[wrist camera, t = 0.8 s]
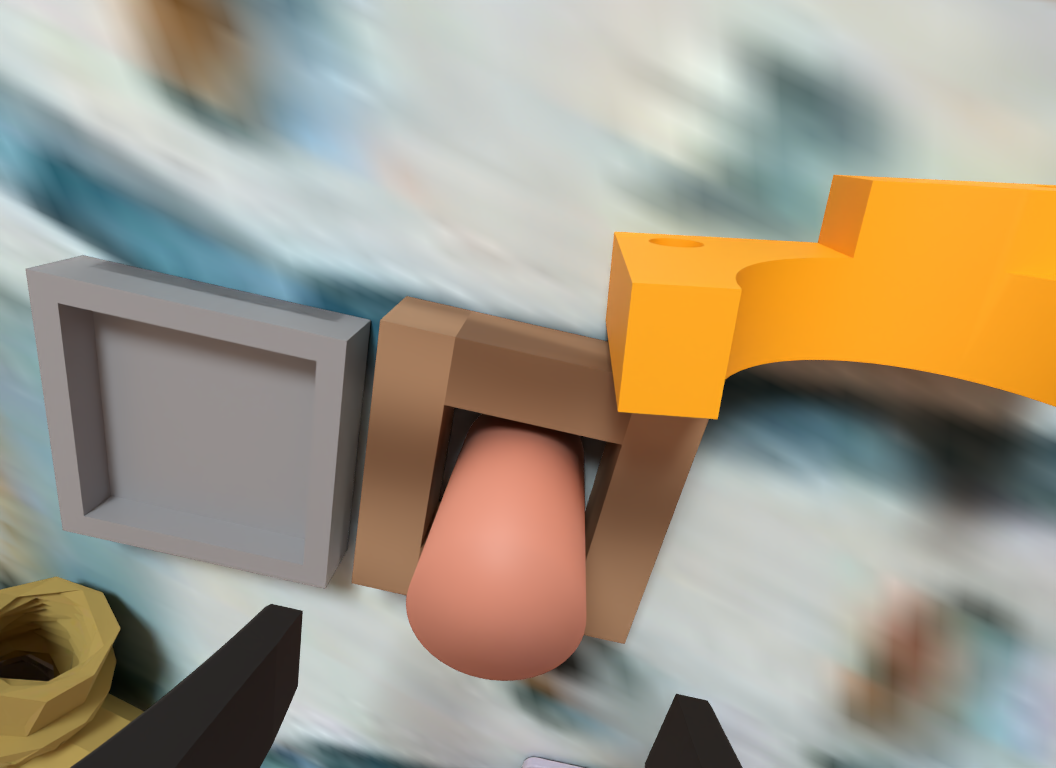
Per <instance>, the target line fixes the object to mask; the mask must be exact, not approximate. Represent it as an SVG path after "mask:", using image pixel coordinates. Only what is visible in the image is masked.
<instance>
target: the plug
mask: <svg viewBox="0 0 1056 768" xmlns="http://www.w3.org/2000/svg"><path fill="white" fill-rule="evenodd" d="M406 609H407V615H408V619H409V623H410V625H411V627H412V630H413V632H414V633H415V635H416V637H417V638H418V640H419V641H420V642H421V644H422V645H423V646H424V647H425V648H426V649H427V650H428V651H429V652H430V653H431V654H432V655H433V656H435V657H436V658H437V659H438V660H440V661H441V662H443V663H444V664H446V665H448V666H449V667H451V668H453V669H455V670H458V671H460V672H463V673H465V674H468V675H471V676H475V677H478V678H483V679H489V680H500V681H508V680H521V679H527V678H531V677H535V676H538V675H541V674H544V673H546V672H548V671H550V670H552V669H554V668H556V667H557V666H559V665H560V664H562V663H563V662H564V661H565V660H567V659H568V658H569V657H570V656H571V655H572V654H573V652H574V651H575V650H576V648H577V647H578V645H579V644H580V642H581V640H582V637H583V635H584V631H585V627H586V556H585V491H584V451H583V445H582V441H581V439H580V436H579V435H576V434H572V433H567V432H563V431H558V430H554V429H549V428H545V427H541V426H536V425H532V424H527V423H523V422H518V421H514V420H509V419H505V418H500V417H496V416H492V415H487V414H483V413H482V414H481V415H480V416H479V417H478V418H477V419H476V420H475V421H474V422H473V424H472V425H471V427H470V428H469V430H468V433H467V435H466V437H465V440H464V443H463V445H462V448H461V450H460V453H459V456H458V458H457V461H456V464H455V466H454V469H453V472H452V474H451V477H450V479H449V482H448V485H447V487H446V490H445V493H444V495H443V498H442V501H441V503H440V506H439V509H438V511H437V514H436V516H435V519H434V522H433V524H432V527H431V530H430V532H429V535H428V538H427V540H426V543H425V545H424V548H423V551H422V553H421V556H420V559H419V561H418V564H417V567H416V569H415V572H414V575H413V577H412V580H411V582H410V585H409V588H408V592H407V599H406Z"/></svg>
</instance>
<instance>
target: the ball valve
mask: <svg viewBox="0 0 1056 768" xmlns="http://www.w3.org/2000/svg"><path fill="white" fill-rule="evenodd" d="M120 629H121V628H120V626H119V624H118V622H117V620H116V618H115V616H114V614H113V612H112V610H111V608H110V606H109V604H108V602H107V600H106V598H105V596H104V594H103V592H100V591H97V590H94V589H91V588H88V587H85V586H82V585H79V584H76V583H73V582H71V581H68V580H65V579H62V578H59V577H53V578H48V579H44V580H40V581H36V582H31V583H27V584H23V585H19V586H14V587H10V588H6V589H2V590H0V768H70V767H71V766H73V765H74V764H76V763H77V762H78V761H80V760H81V759H83V758H84V757H85V756H87V755H88V754H89V753H91V752H92V751H94V750H95V749H96V748H98V747H99V746H100V745H102V744H103V743H104V742H106V741H107V740H108V739H110V738H111V737H112V736H114V735H115V734H116V733H117V732H119V731H120V730H121V729H123V728H124V727H125V726H126V725H128V724H129V723H130V722H132V721H133V720H134V719H136V718H137V717H138V716H139V715H141V714H142V713H143V712H144V711H142V710H140V709H138V708H136V707H134V706H133V705H131V704H129V703H127V702H125V701H123V700H121V699H119V698H117V697H115V696H113V695H111V694H109V693H108V692H109V691H110V687H111V682H112V678H113V674H114V669H115V665H116V658H115V654H114V650H113V646H112V645H113V643H114V641H115V639H116V637H117V635H118V633H119V631H120Z"/></svg>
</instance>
